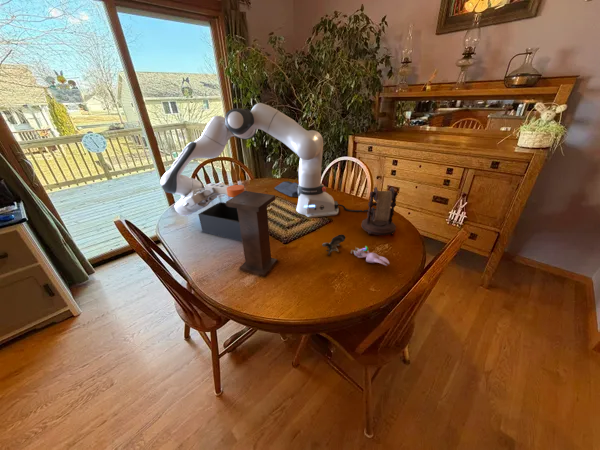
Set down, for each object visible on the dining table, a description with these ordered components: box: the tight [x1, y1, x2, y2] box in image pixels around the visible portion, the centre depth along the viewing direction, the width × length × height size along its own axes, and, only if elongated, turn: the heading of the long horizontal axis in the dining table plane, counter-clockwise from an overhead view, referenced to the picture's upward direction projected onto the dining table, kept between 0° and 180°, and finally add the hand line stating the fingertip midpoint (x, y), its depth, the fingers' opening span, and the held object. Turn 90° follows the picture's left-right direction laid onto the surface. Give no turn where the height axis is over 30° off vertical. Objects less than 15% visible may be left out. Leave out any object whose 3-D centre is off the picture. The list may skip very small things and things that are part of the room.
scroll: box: [360, 186, 399, 236], centre depth 102 cm, size 15×15×20 cm
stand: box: [225, 190, 278, 278], centre depth 79 cm, size 11×10×26 cm
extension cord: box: [204, 182, 246, 198], centre depth 100 cm, size 18×7×3 cm, turn 67°
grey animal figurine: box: [321, 233, 347, 256], centre depth 91 cm, size 8×7×9 cm
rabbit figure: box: [350, 245, 390, 267], centre depth 85 cm, size 6×6×15 cm
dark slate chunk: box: [274, 180, 299, 198], centre depth 151 cm, size 15×22×5 cm
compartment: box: [197, 201, 242, 242], centre depth 106 cm, size 23×15×9 cm, turn 67°
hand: (217, 187), depth 101 cm, fingers closed on extension cord, 3 cm apart
